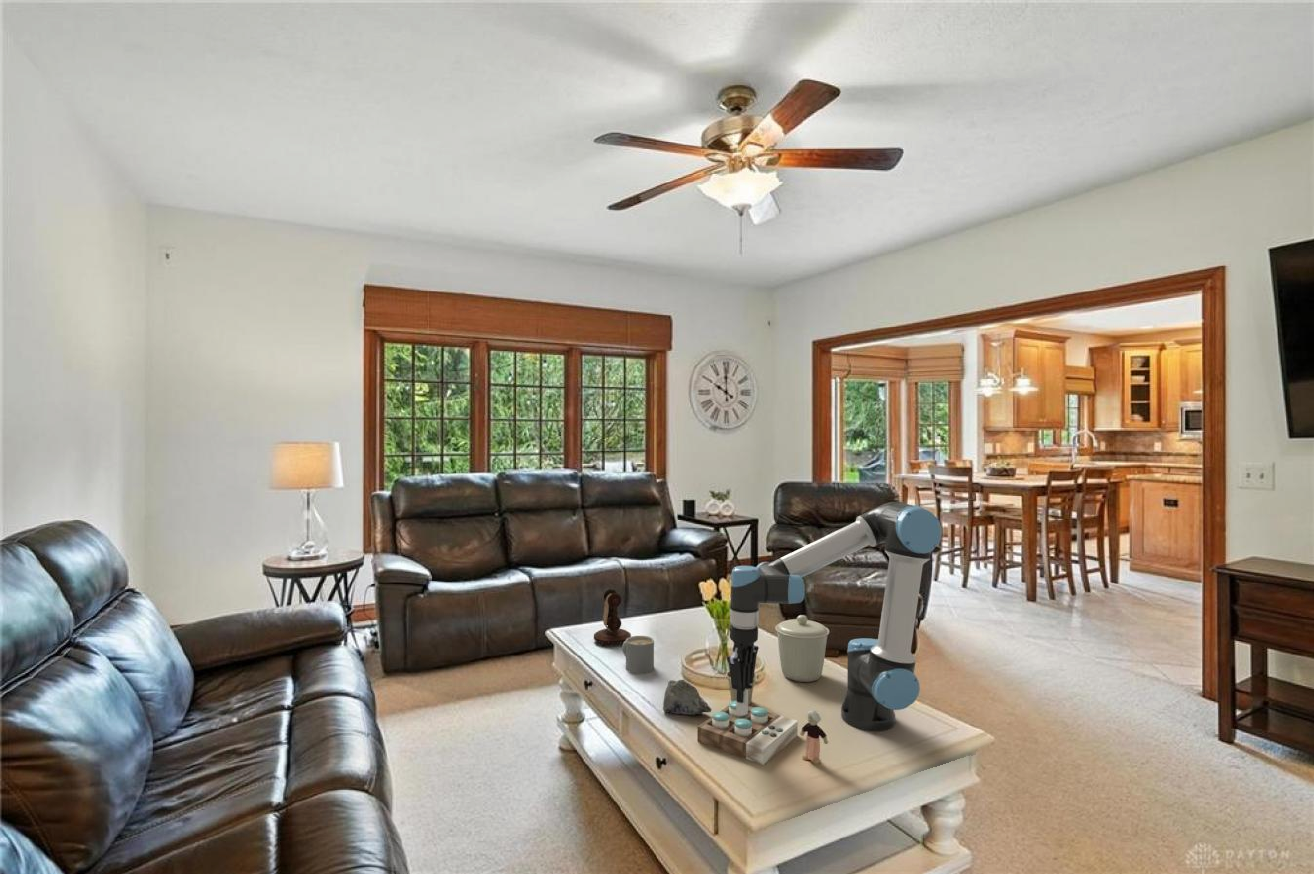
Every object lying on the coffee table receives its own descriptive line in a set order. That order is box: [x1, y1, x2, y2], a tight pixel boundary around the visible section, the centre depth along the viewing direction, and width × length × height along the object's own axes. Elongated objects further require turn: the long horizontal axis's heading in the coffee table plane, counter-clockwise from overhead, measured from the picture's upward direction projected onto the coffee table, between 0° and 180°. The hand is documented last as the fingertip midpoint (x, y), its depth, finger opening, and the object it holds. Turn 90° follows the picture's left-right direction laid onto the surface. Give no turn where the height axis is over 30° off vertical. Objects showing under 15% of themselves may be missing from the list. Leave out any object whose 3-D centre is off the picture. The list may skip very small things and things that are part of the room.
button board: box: [696, 705, 799, 766], centre depth 175 cm, size 20×20×4 cm
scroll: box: [593, 588, 632, 647], centre depth 254 cm, size 15×15×20 cm
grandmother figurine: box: [799, 710, 829, 765], centre depth 163 cm, size 8×4×13 cm, turn 58°
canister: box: [774, 614, 830, 683], centre depth 218 cm, size 18×18×21 cm
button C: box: [728, 701, 745, 718], centre depth 182 cm, size 5×5×4 cm
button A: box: [751, 706, 769, 726], centre depth 177 cm, size 5×5×4 cm
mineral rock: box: [662, 679, 712, 716], centre depth 189 cm, size 13×11×10 cm
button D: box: [711, 711, 729, 730], centre depth 175 cm, size 5×5×4 cm
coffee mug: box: [621, 635, 655, 675], centre depth 227 cm, size 13×10×10 cm
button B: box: [734, 719, 752, 738], centre depth 170 cm, size 5×5×4 cm
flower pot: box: [725, 670, 758, 706], centre depth 198 cm, size 9×9×9 cm
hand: (742, 712), depth 170 cm, fingers closed
